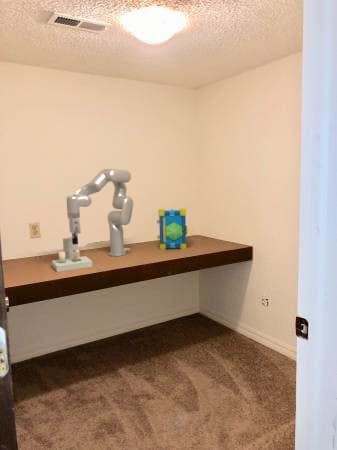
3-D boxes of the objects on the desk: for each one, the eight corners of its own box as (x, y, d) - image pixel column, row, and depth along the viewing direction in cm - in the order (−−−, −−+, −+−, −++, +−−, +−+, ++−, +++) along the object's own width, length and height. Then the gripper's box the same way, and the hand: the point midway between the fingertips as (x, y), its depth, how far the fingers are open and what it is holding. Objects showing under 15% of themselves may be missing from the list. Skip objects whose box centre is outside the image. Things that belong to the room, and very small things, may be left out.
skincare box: (69, 260, 248) (68, 239, 246) (63, 259, 252) (62, 238, 249) (78, 258, 255) (77, 237, 253) (72, 257, 259) (71, 236, 256)
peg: (79, 264, 238) (78, 249, 237) (80, 265, 235) (80, 250, 233) (73, 265, 236) (72, 250, 235) (74, 266, 233) (73, 251, 231)
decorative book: (187, 250, 272) (187, 210, 268) (157, 250, 273) (155, 210, 268) (187, 245, 287) (186, 207, 282) (157, 246, 287) (156, 208, 282)
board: (85, 261, 246) (85, 246, 245) (92, 266, 232) (91, 251, 231) (52, 265, 236) (51, 250, 235) (57, 271, 222) (55, 255, 221)
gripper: (82, 216, 225) (84, 245, 228) (76, 214, 239) (78, 241, 241) (70, 217, 222) (72, 246, 225) (65, 214, 235) (66, 242, 238)
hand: (75, 244), depth 233 cm, fingers closed
